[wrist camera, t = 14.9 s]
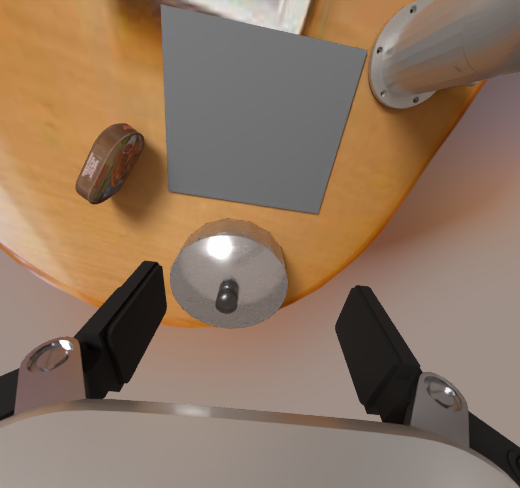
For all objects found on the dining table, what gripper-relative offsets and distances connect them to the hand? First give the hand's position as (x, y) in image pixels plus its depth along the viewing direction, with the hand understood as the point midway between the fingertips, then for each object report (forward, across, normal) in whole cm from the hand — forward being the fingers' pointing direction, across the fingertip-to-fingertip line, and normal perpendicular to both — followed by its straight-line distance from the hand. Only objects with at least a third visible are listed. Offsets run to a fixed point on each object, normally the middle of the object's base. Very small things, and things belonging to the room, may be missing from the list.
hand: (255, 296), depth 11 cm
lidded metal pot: (+33, +4, +22) cm, 40 cm away
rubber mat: (+34, +2, -6) cm, 34 cm away
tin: (+33, +26, +2) cm, 42 cm away
